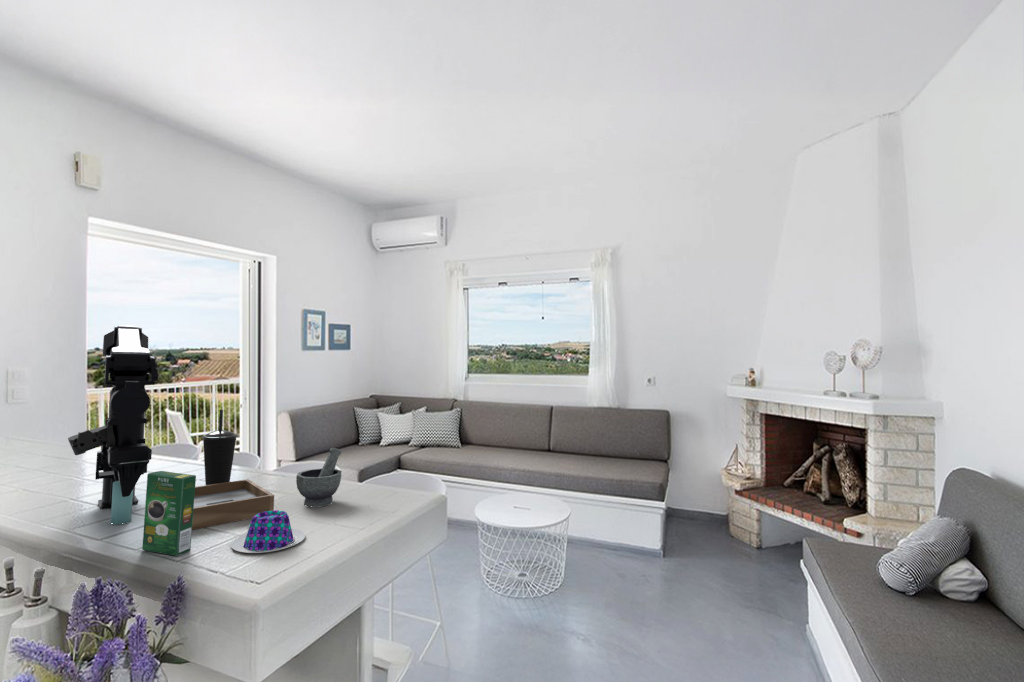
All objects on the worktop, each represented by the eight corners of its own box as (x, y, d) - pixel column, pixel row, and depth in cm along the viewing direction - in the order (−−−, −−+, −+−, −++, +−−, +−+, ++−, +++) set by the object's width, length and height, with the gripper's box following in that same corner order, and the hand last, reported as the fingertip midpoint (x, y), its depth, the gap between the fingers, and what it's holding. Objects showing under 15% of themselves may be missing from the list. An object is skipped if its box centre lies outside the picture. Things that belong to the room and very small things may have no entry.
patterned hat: (314, 531, 93) (315, 504, 93) (290, 557, 81) (291, 525, 81) (250, 532, 92) (251, 504, 92) (216, 557, 80) (218, 525, 80)
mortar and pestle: (318, 511, 104) (320, 456, 104) (285, 506, 107) (288, 452, 108) (353, 498, 114) (354, 448, 115) (322, 493, 118) (324, 444, 118)
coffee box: (193, 550, 82) (197, 473, 82) (177, 557, 79) (182, 477, 79) (157, 545, 84) (161, 469, 84) (140, 551, 81) (145, 473, 82)
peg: (109, 521, 95) (112, 481, 95) (130, 518, 97) (132, 478, 98) (111, 526, 93) (113, 484, 93) (132, 522, 95) (134, 481, 95)
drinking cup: (223, 495, 115) (227, 411, 116) (191, 494, 115) (196, 411, 116) (241, 486, 123) (245, 408, 124) (212, 486, 123) (216, 408, 124)
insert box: (166, 509, 103) (167, 490, 104) (247, 496, 115) (248, 479, 115) (184, 531, 91) (185, 510, 91) (273, 514, 102) (274, 495, 102)
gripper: (70, 411, 97) (65, 488, 96) (75, 420, 84) (69, 510, 83) (139, 408, 105) (135, 480, 104) (154, 416, 91) (149, 499, 91)
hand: (122, 491), depth 95 cm, fingers open, 9 cm apart
